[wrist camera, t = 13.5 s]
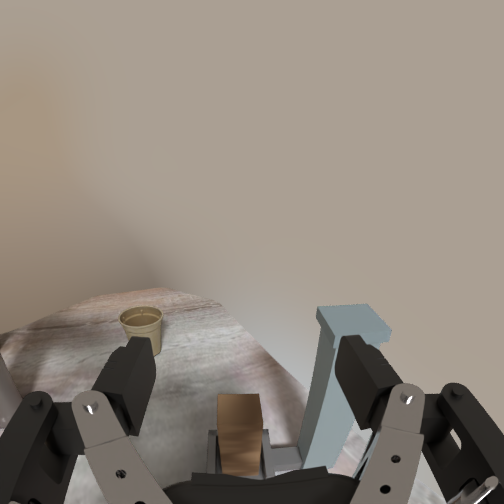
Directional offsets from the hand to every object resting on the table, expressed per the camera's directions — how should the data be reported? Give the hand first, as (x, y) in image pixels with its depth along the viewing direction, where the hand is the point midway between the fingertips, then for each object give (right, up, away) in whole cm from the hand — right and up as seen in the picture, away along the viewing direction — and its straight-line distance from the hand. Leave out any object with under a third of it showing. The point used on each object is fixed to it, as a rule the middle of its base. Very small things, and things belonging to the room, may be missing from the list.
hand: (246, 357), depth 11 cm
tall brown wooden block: (-1, -23, +18) cm, 29 cm away
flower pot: (-22, -17, +43) cm, 51 cm away
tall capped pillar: (+3, -24, +18) cm, 30 cm away
